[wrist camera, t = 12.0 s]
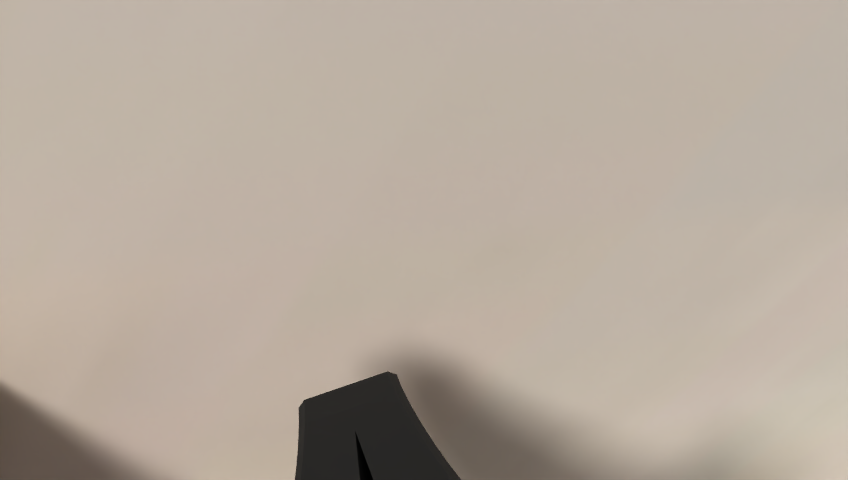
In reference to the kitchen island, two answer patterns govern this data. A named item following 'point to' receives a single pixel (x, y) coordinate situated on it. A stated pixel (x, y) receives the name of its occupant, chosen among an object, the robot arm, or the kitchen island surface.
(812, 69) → the kitchen island surface
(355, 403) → the robot arm
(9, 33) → the kitchen island surface
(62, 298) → the kitchen island surface
